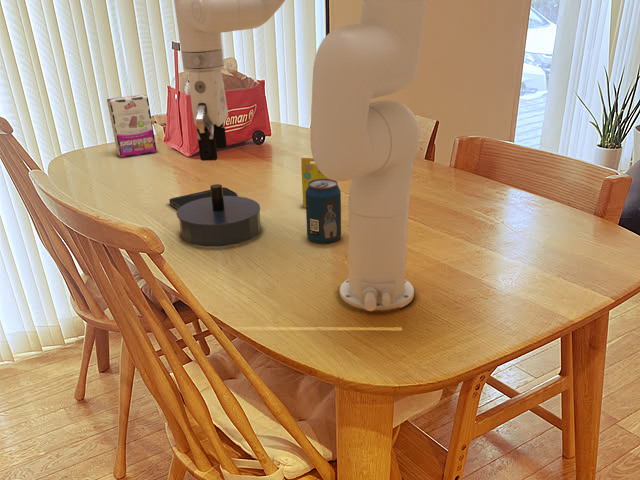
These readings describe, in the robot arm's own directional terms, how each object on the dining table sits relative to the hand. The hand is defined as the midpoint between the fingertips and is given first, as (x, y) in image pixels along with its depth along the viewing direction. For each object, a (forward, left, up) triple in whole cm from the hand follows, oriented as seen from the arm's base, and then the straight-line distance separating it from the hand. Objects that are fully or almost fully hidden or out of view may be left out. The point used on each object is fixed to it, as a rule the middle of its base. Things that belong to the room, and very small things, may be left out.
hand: (214, 153), depth 124 cm
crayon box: (+16, -20, -17) cm, 31 cm away
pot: (0, 0, -17) cm, 17 cm away
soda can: (-4, -22, -17) cm, 28 cm away
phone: (+20, +8, -17) cm, 28 cm away
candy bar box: (+64, +38, -17) cm, 77 cm away
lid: (0, 0, -12) cm, 12 cm away
